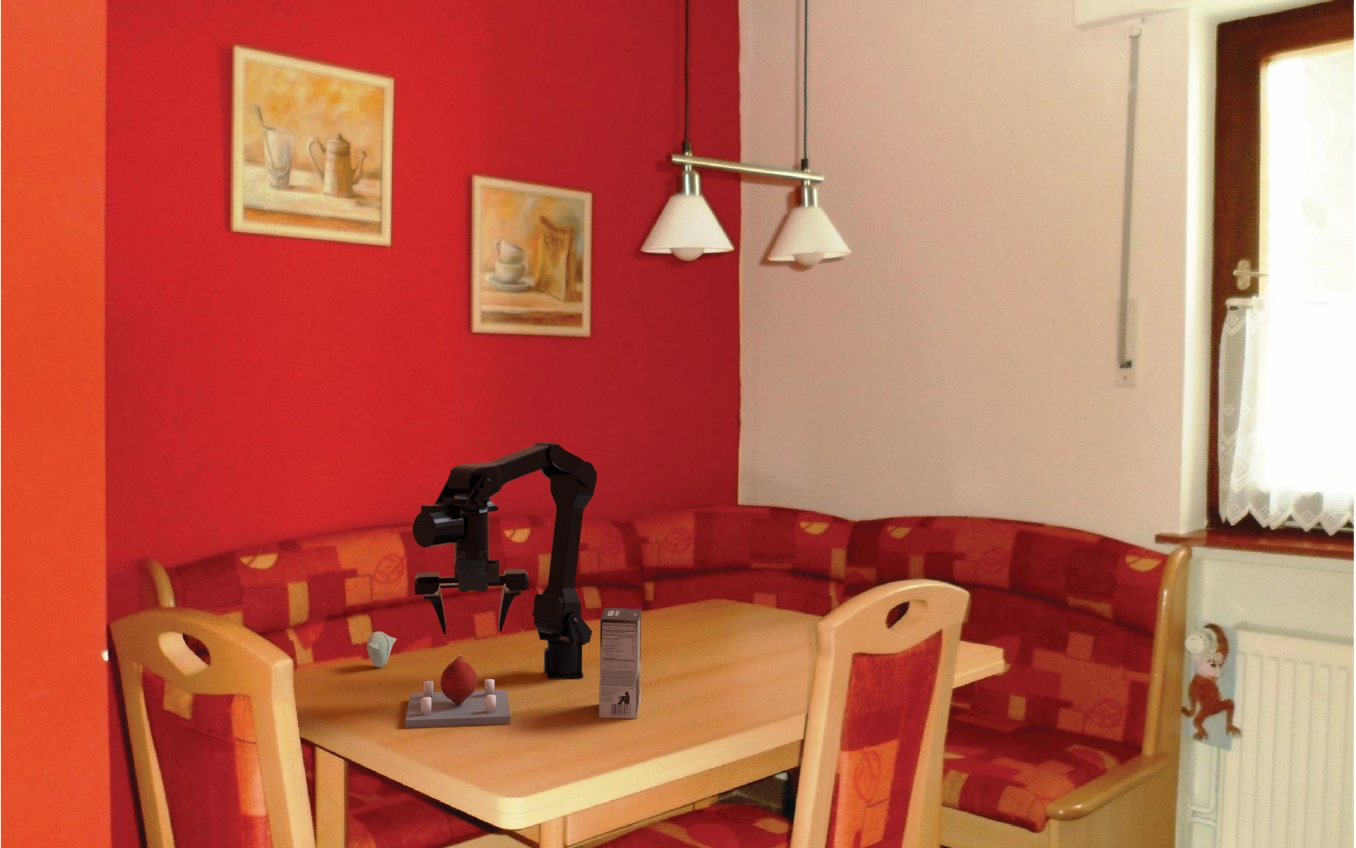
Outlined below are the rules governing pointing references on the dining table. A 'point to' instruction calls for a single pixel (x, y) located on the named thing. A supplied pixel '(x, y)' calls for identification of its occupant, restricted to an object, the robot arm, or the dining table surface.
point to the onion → (458, 680)
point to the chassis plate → (457, 708)
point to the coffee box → (620, 663)
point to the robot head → (379, 648)
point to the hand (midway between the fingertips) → (472, 632)
